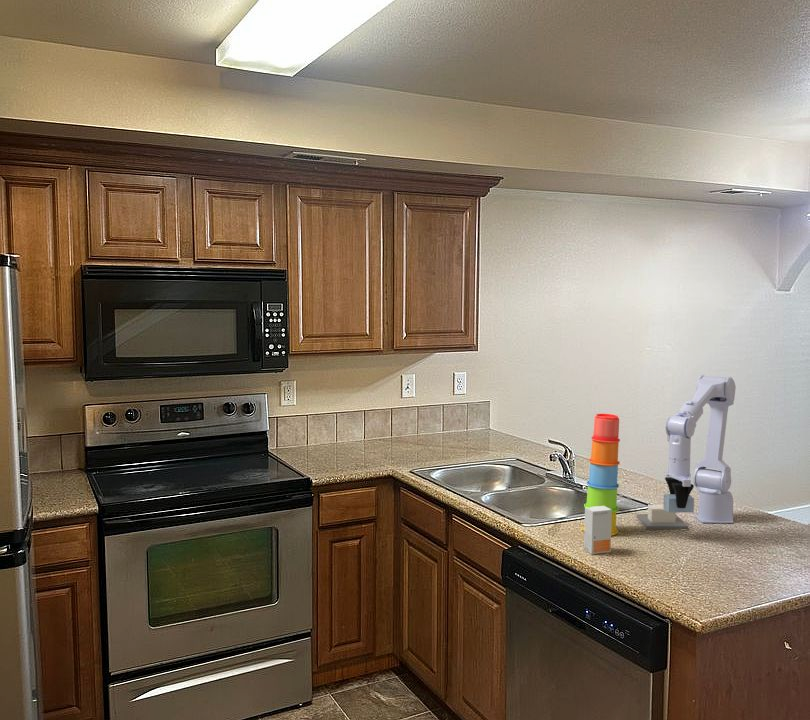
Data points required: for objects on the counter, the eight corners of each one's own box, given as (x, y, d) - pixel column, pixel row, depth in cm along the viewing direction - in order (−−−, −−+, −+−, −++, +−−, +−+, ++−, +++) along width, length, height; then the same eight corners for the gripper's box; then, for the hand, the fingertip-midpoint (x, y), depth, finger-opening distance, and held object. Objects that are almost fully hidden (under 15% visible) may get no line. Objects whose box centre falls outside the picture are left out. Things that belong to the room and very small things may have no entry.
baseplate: (675, 517, 237) (675, 514, 237) (687, 529, 225) (688, 526, 225) (636, 517, 238) (636, 514, 238) (646, 529, 226) (646, 526, 226)
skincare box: (591, 555, 205) (592, 511, 204) (583, 550, 209) (584, 507, 208) (611, 552, 207) (612, 509, 206) (603, 547, 211) (603, 505, 210)
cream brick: (671, 517, 233) (671, 505, 233) (675, 522, 229) (675, 509, 229) (647, 517, 234) (647, 505, 233) (651, 522, 229) (651, 509, 229)
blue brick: (687, 507, 220) (688, 494, 220) (693, 512, 216) (693, 498, 215) (663, 507, 220) (663, 494, 220) (668, 512, 216) (669, 498, 215)
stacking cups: (593, 523, 232) (594, 410, 229) (624, 531, 225) (626, 414, 222) (575, 531, 224) (576, 415, 221) (606, 539, 217) (608, 419, 214)
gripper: (658, 452, 224) (657, 498, 225) (672, 464, 209) (671, 512, 211) (682, 452, 223) (681, 498, 225) (698, 464, 209) (697, 512, 210)
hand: (678, 505), depth 218 cm, fingers closed on blue brick, 5 cm apart
